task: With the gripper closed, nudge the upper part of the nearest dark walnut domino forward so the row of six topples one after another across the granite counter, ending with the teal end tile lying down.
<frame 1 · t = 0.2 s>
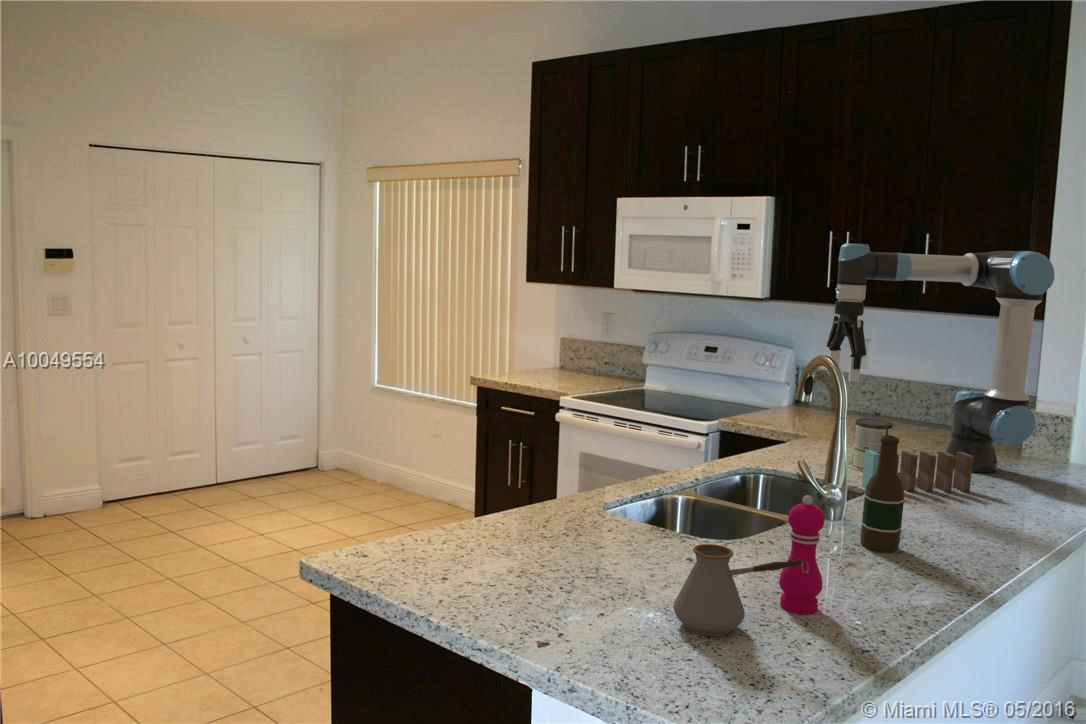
hand: (843, 377, 252), 28 cm above the worktop, tool pointing down, fingers open, 13 cm apart
domino 4: (906, 489, 244), on the worktop
domino 1: (960, 490, 245), on the worktop
domino 5: (887, 489, 243), on the worktop
coffee can: (869, 469, 265), on the worktop
domino 6: (869, 488, 242), on the worktop
pepper mill: (798, 608, 158), on the worktop
coffee pot: (735, 636, 146), on the worktop
domino 2: (942, 490, 245), on the worktop
domino 3: (924, 489, 244), on the worktop
beer bottle: (879, 548, 194), on the worktop
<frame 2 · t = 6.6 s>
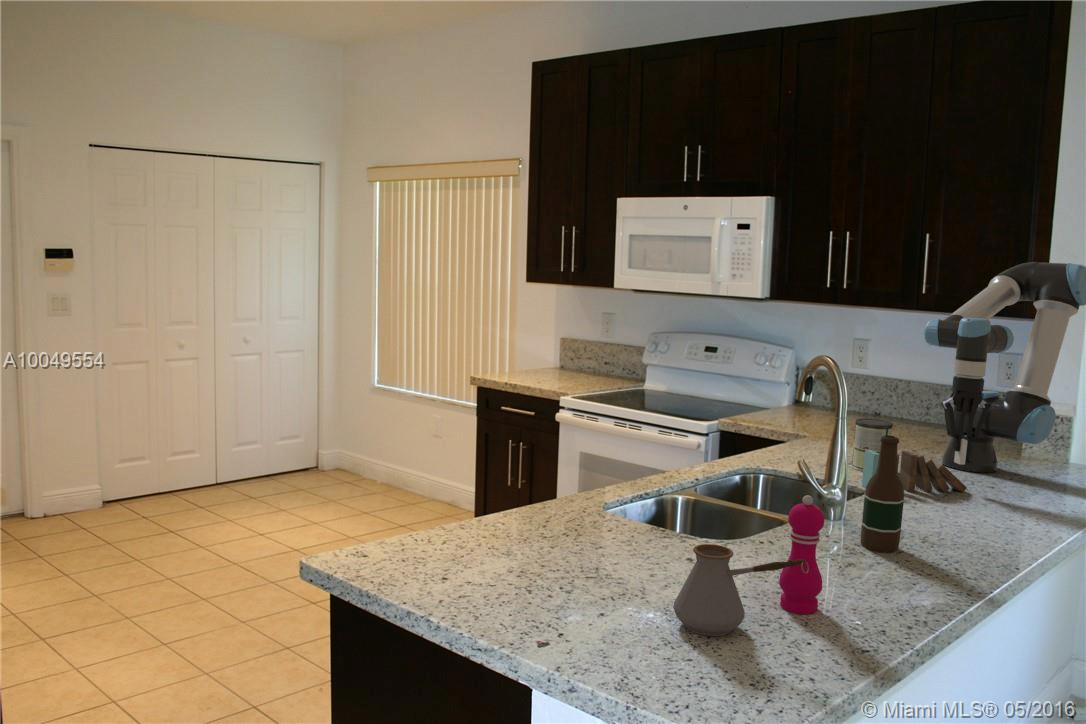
hand: (959, 463, 244), 7 cm above the worktop, tool pointing down, fingers closed
domino 4: (906, 489, 244), on the worktop, touching domino 3
domino 1: (959, 487, 245), point 1 cm above the worktop, tilted 51°, touching domino 2
domino 2: (942, 488, 245), point 1 cm above the worktop, tilted 38°, touching domino 1
domino 3: (924, 488, 244), on the worktop, tilted 20°, touching domino 4
everything else where it was.
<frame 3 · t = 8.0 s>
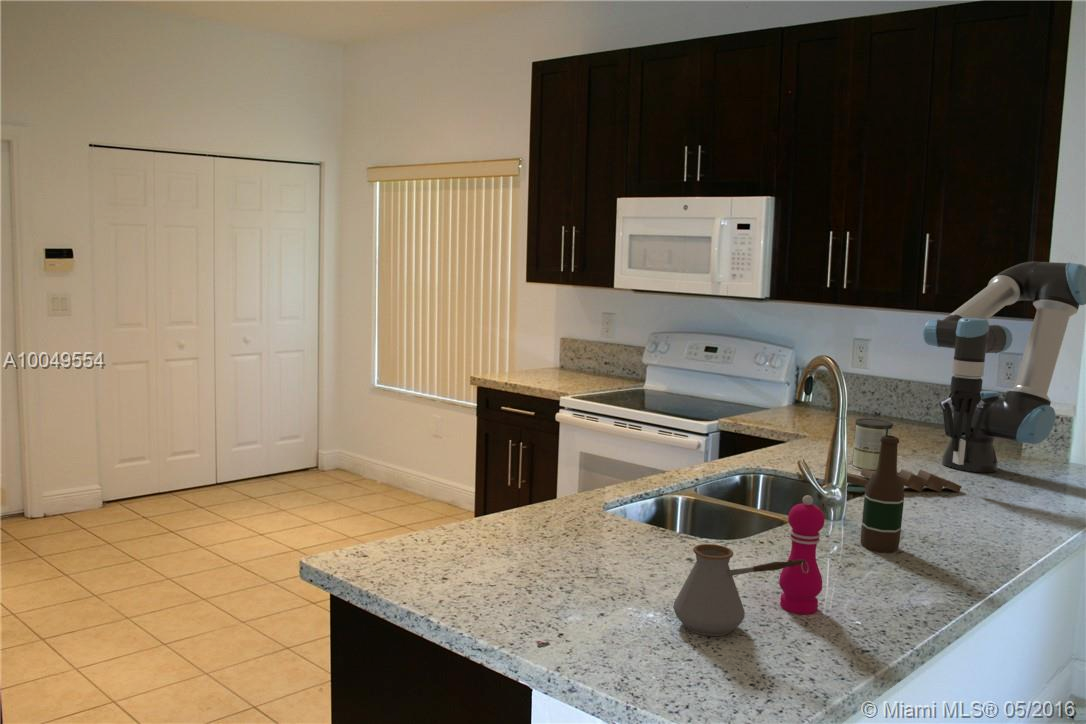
hand: (957, 463, 244), 7 cm above the worktop, tool pointing down, fingers closed
domino 4: (897, 486, 243), point 1 cm above the worktop, tilted 70°
domino 1: (954, 487, 245), point 1 cm above the worktop, tilted 71°, touching domino 2
domino 5: (874, 484, 242), point 1 cm above the worktop, tilted 78°, touching domino 6
domino 6: (863, 488, 242), on the worktop, tilted 90°, touching domino 5
domino 2: (936, 486, 244), point 1 cm above the worktop, tilted 71°, touching domino 1, domino 3
domino 3: (917, 486, 244), point 1 cm above the worktop, tilted 71°, touching domino 2
everything else where it was.
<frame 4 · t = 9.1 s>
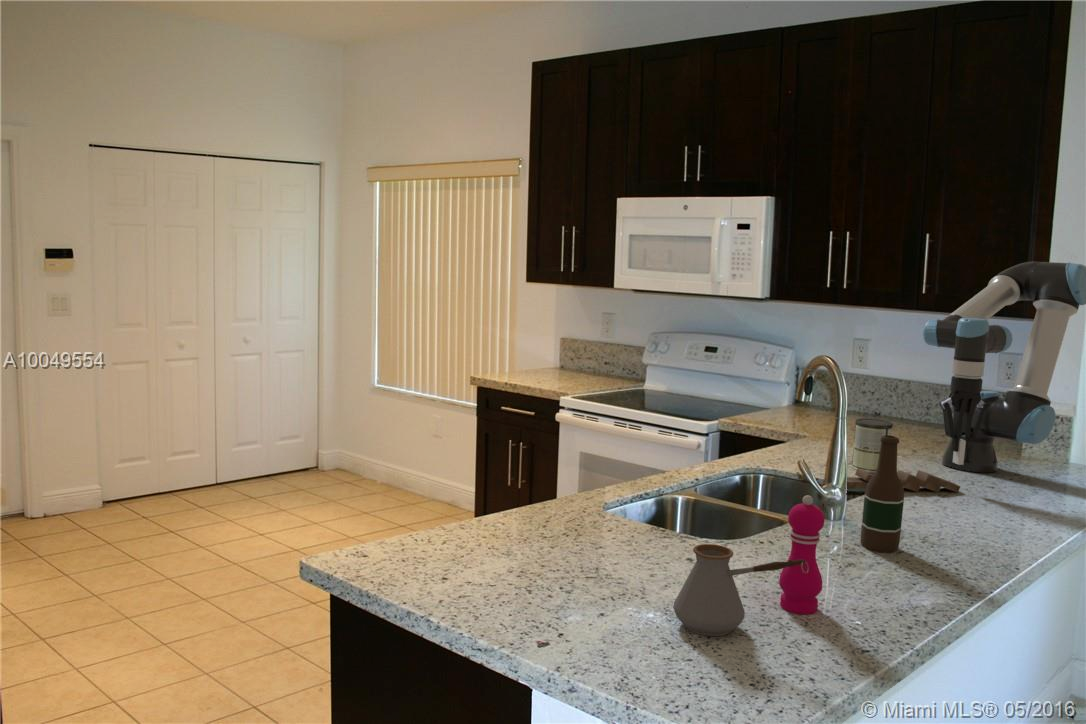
hand: (957, 463, 244), 7 cm above the worktop, tool pointing down, fingers closed
domino 4: (891, 486, 243), point 1 cm above the worktop, tilted 70°, touching domino 3
domino 5: (866, 483, 241), point 2 cm above the worktop, tilted 90°, touching domino 6
domino 3: (913, 486, 244), point 1 cm above the worktop, tilted 72°, touching domino 2, domino 4
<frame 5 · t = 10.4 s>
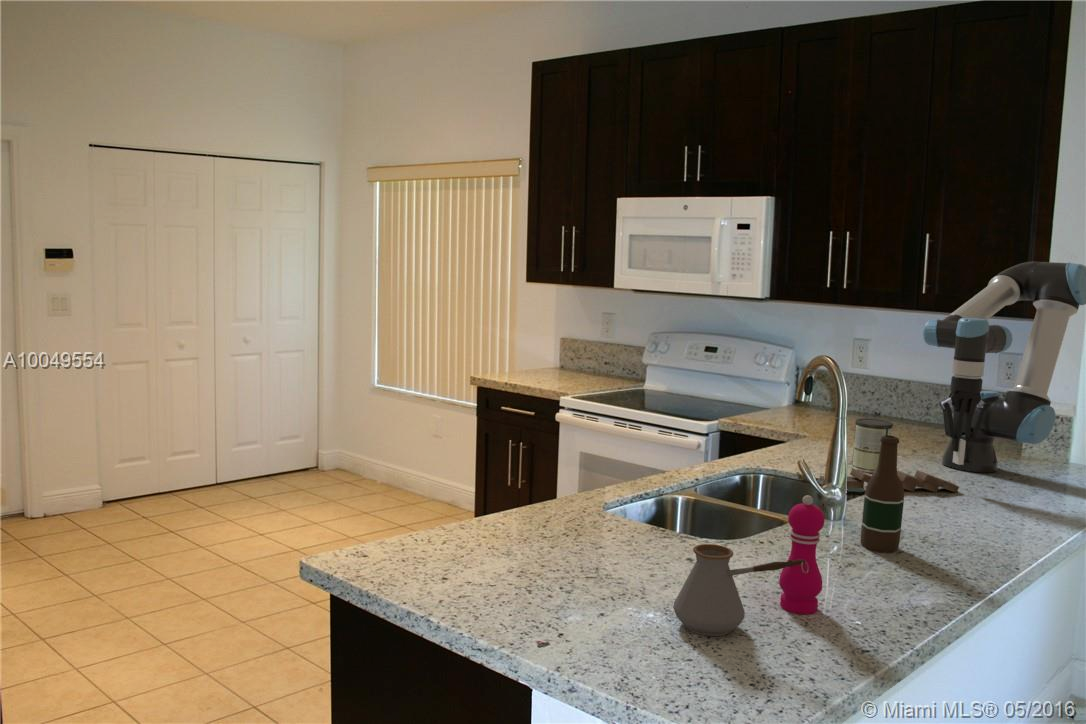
hand: (957, 463, 244), 7 cm above the worktop, tool pointing down, fingers closed
domino 4: (885, 485, 242), point 1 cm above the worktop, tilted 70°, touching domino 3, domino 5
domino 1: (952, 487, 245), point 1 cm above the worktop, tilted 72°
domino 5: (859, 482, 241), point 2 cm above the worktop, tilted 90°, touching domino 4
domino 6: (859, 488, 242), on the worktop, tilted 90°
domino 2: (932, 487, 244), point 1 cm above the worktop, tilted 73°, touching domino 3
domino 3: (909, 486, 244), point 1 cm above the worktop, tilted 73°, touching domino 2, domino 4
everything else where it was.
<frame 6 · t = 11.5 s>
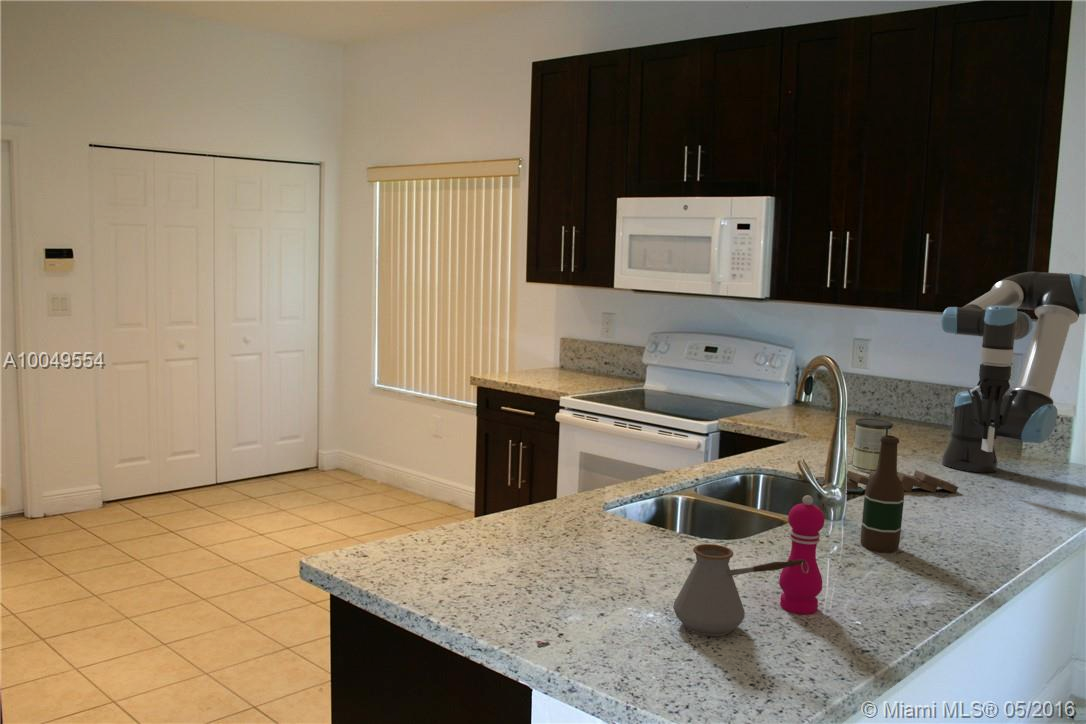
hand: (986, 450, 245), 11 cm above the worktop, tool pointing down, fingers closed
domino 4: (881, 485, 242), point 1 cm above the worktop, tilted 73°, touching domino 3
domino 1: (951, 487, 244), point 1 cm above the worktop, tilted 72°, touching domino 2
domino 5: (853, 483, 241), point 2 cm above the worktop, tilted 90°, touching domino 6
domino 6: (858, 489, 242), on the worktop, tilted 90°, touching domino 5
domino 2: (931, 487, 244), point 1 cm above the worktop, tilted 74°, touching domino 1
domino 3: (906, 486, 244), point 1 cm above the worktop, tilted 74°, touching domino 4
everything else where it was.
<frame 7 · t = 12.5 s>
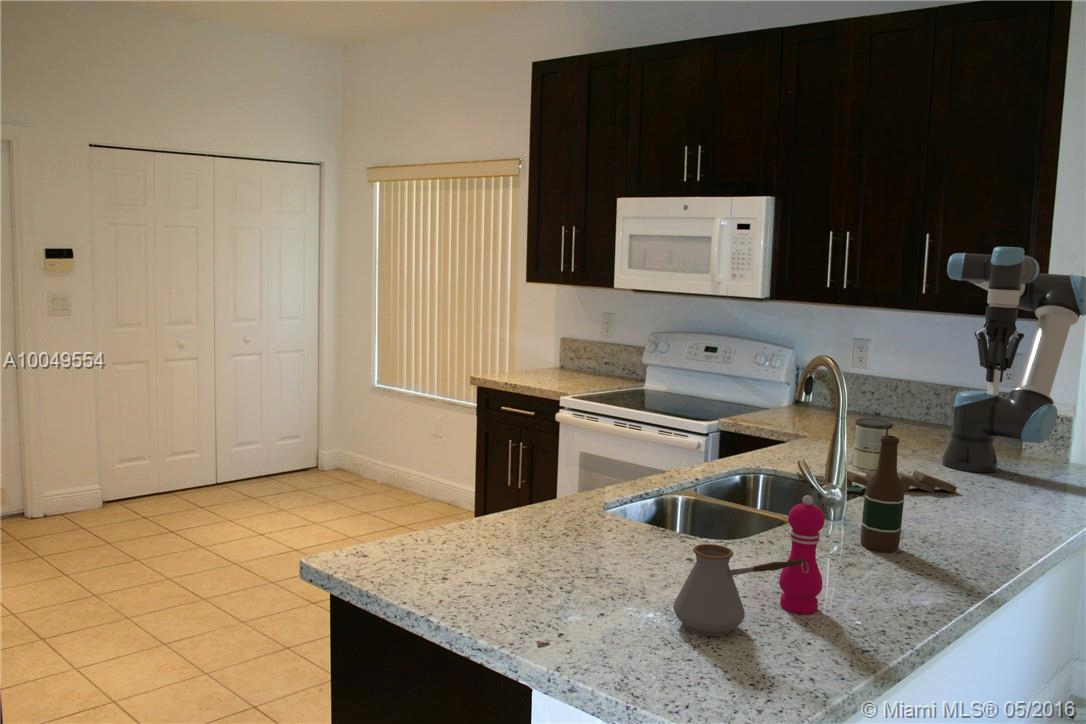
hand: (992, 394, 243), 26 cm above the worktop, tool pointing down, fingers closed
domino 4: (877, 485, 242), point 1 cm above the worktop, tilted 73°, touching domino 3, domino 5
domino 5: (847, 481, 242), point 2 cm above the worktop, tilted 90°, touching domino 4, domino 6
domino 2: (930, 487, 244), point 1 cm above the worktop, tilted 75°, touching domino 1, domino 3
domino 3: (904, 486, 243), point 1 cm above the worktop, tilted 74°, touching domino 2, domino 4
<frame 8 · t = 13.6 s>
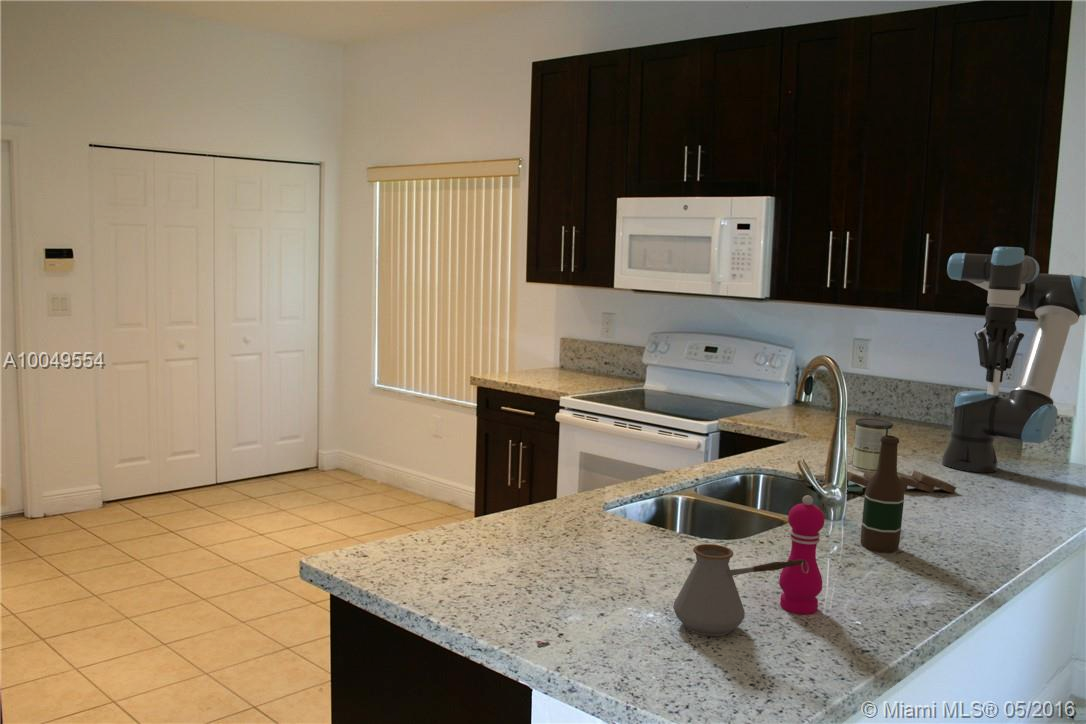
hand: (992, 394, 243), 26 cm above the worktop, tool pointing down, fingers closed
domino 1: (950, 488, 244), point 1 cm above the worktop, tilted 72°, touching domino 2
domino 5: (844, 481, 241), point 2 cm above the worktop, tilted 90°, touching domino 4, domino 6
at the end: domino 6 tilted 90°; domino 1 tilted 72° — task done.
